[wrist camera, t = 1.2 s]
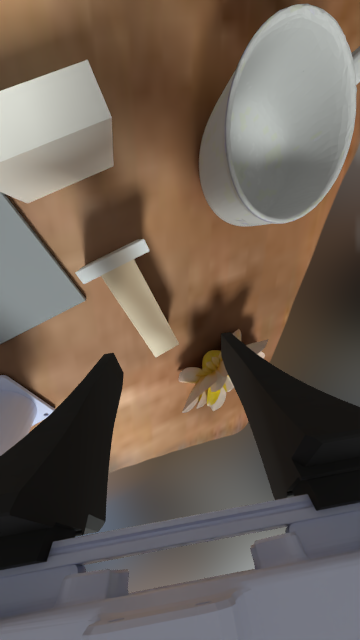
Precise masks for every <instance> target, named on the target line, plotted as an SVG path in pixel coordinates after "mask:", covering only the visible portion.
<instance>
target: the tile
mask: <svg viewBox="0 0 360 640" xmlns="http://www.w3.org/2000/svg"><path fill="white" fill-rule="evenodd" d="M113 166H114V162H113V136H112V117H111V114H110V112H109V110H108V107H107V105H106V102H105V100H104V98H103V95H102V93H101V90H100V88H99V86H98V83H97V81H96V78H95V76H94V74H93V71H92V69H91V67H90V64H89V62H88V60H85V61H82V62H80V63H77V64H74V65H71V66H68V67H66V68H63V69H60V70H57V71H54V72H52V73H49V74H46V75H43V76H41V77H38V78H35V79H32V80H29V81H27V82H24V83H21V84H18V85H15V86H13V87H10V88H7V89H4V90H1V91H0V192H1V193H4V194H6V195H8V196H11V197H13V198H16V199H18V200H20V201H23V202H25V203H30V202H32V201H34V200H37V199H39V198H41V197H44V196H46V195H48V194H51V193H53V192H55V191H58V190H60V189H62V188H64V187H67V186H69V185H71V184H74V183H76V182H78V181H81V180H83V179H85V178H88V177H90V176H92V175H95V174H97V173H99V172H101V171H104V170H106V169H108V168H111V167H113Z"/></svg>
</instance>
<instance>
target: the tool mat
mask: <svg viewBox="0 0 360 640" xmlns="http://www.w3.org/2000/svg"><path fill="white" fill-rule="evenodd" d="M85 300H86V298H85V297H84V295H83V294H82V293H81V292H80V290H79V289H78V288H77V286H76V285H75V284H74V283H73V281H72V280H71V279H70V277H69V276H68V275H67V274H66V272H65V271H64V270H63V268H62V267H61V266H60V265H59V263H58V262H57V261H56V259H55V258H54V257H53V256H52V254H51V253H50V252H49V250H48V249H47V248H46V247H45V245H44V244H43V243H42V241H41V240H40V239H39V238H38V236H37V235H36V234H35V232H34V231H33V230H32V229H31V227H30V226H29V225H28V223H27V222H26V221H25V220H24V218H23V217H22V216H21V214H20V213H19V212H18V211H17V209H16V208H15V207H14V205H13V204H12V203H11V202H10V200H9V199H8V198H7V196H6V195H5V194H4V193H1V192H0V344H1V343H3V342H5V341H7V340H9V339H11V338H13V337H15V336H17V335H19V334H21V333H23V332H25V331H27V330H29V329H31V328H33V327H35V326H37V325H39V324H41V323H43V322H44V321H46V320H48V319H50V318H52V317H54V316H56V315H58V314H60V313H62V312H64V311H66V310H68V309H70V308H72V307H74V306H76V305H78V304H80V303H82V302H84V301H85Z"/></svg>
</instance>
